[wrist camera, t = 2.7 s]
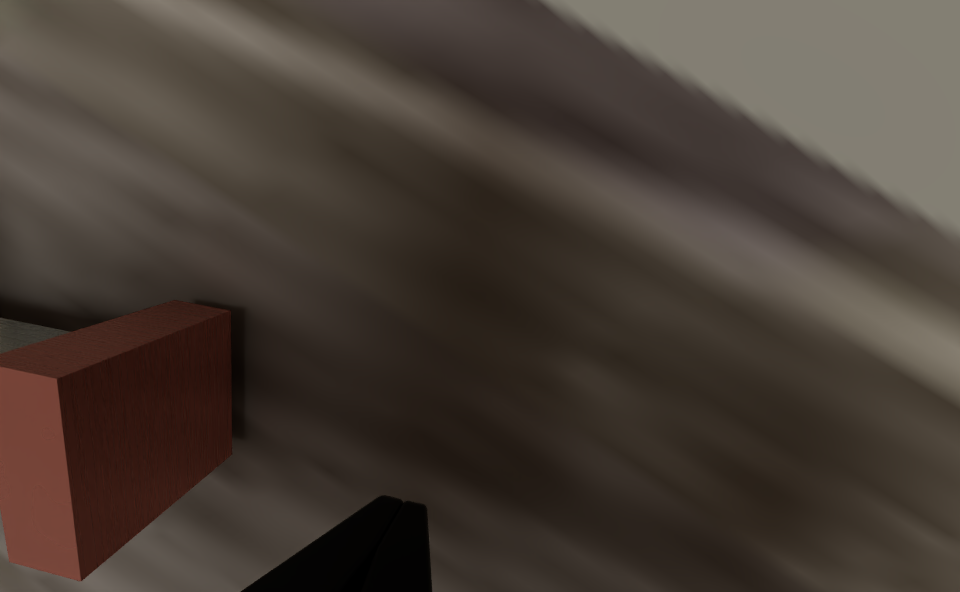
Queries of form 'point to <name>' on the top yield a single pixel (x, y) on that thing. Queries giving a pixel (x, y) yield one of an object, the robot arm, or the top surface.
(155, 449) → the pin
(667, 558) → the top surface
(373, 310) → the top surface
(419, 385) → the top surface
